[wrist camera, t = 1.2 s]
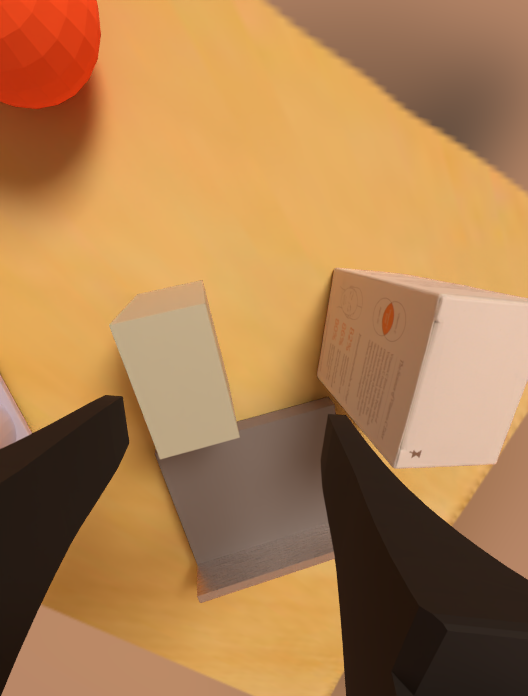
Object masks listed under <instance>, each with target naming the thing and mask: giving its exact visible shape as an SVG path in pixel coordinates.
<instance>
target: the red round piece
mask: <svg viewBox="0 0 528 696" xmlns="http://www.w3.org/2000/svg"><path fill="white" fill-rule="evenodd" d="M100 37H101V31H100V22H99V12H98V5H97V1H96V0H0V102H3V103H6V104H9V105H11V106H14V107H24V108H34V109H39V108H44V107H49V106H55V105H59V104H60V103H62V102H64V101H66V100H67V99H69V98H71V97H73V96H74V95H76V94H77V93H78V91H79V90H80V89H81V88H82V87H83V86H84V84H85V83H86V82H87V81H88V80H89V78H90V76H91V73H92V71H93V69H94V66H95V64H96V62H97V59H98V53H99V45H100Z"/></svg>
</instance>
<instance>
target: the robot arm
mask: <svg viewBox="0 0 528 696" xmlns="http://www.w3.org/2000/svg"><path fill="white" fill-rule="evenodd" d="M128 445H129V437H128V430H127V424H126V417H125V410H124V403H123V397H121V396H109V395H105V396H103V397H101V398H99V399H97V400H95V401H93V402H91V403H89V404H87V405H85V406H83V407H81V408H80V409H78V410H76V411H74V412H72V413H70V414H69V415H67V416H65V417H63V418H61V419H59V420H57V421H56V422H54V423H52V424H50V425H48V426H46V427H44V428H42V429H40V430H38V431H36V432H34V433H32V432H31V430H30V429H29V427H28V425H27V423H26V421H25V419H24V417H23V416H22V414H21V412H20V410H19V408H18V406H17V404H16V403H15V401H14V399H13V397H12V395H11V393H10V392H9V390H8V388H7V386H6V384H5V382H4V380H3V379H2V377H1V375H0V696H1V694H2V692H3V689H4V687H5V685H6V682H7V679H8V677H9V675H10V673H11V670H12V668H13V665H14V663H15V661H16V658H17V656H18V653H19V651H20V649H21V647H22V645H23V642H24V640H25V638H26V636H27V633H28V631H29V629H30V627H31V624H32V622H33V620H34V618H35V616H36V613H37V611H38V609H39V607H40V605H41V603H42V601H43V599H44V597H45V595H46V592H47V590H48V588H49V586H50V584H51V582H52V580H53V578H54V576H55V574H56V572H57V570H58V568H59V566H60V564H61V562H62V560H63V558H64V556H65V554H66V552H67V550H68V548H69V546H70V544H71V543H72V541H73V539H74V537H75V536H76V534H77V532H78V531H79V529H80V527H81V526H82V524H83V523H84V521H85V519H86V518H87V516H88V515H89V513H90V512H91V510H92V508H93V507H94V505H95V504H96V502H97V501H98V499H99V497H100V496H101V494H102V493H103V491H104V490H105V488H106V486H107V485H108V483H109V482H110V480H111V478H112V477H113V475H114V473H115V472H116V470H117V468H118V466H119V464H120V462H121V460H122V458H123V456H124V454H125V451H126V449H127V447H128ZM320 461H321V478H322V489H323V495H324V501H325V506H326V512H327V517H328V523H329V528H330V534H331V539H332V545H333V550H334V556H335V563H336V571H337V582H338V593H339V604H340V616H341V629H342V641H343V656H344V671H345V684H346V696H528V580H527V579H526V578H524V577H523V576H521V575H519V574H518V573H516V572H515V571H513V570H511V569H510V568H508V567H507V566H505V565H504V564H502V563H501V562H499V561H498V560H497V559H495V558H494V557H492V556H491V555H489V554H488V553H486V552H485V551H484V550H482V549H481V548H479V547H478V546H477V545H475V544H474V543H473V542H471V541H470V540H468V539H467V538H466V537H464V536H463V535H462V534H460V533H459V532H458V531H457V530H455V529H454V528H453V527H452V526H450V525H449V524H448V523H447V522H445V521H444V520H443V519H442V518H440V517H439V516H438V515H437V514H436V513H434V512H433V511H432V510H431V509H430V508H429V507H427V506H426V505H425V504H424V503H423V502H422V501H421V500H420V499H419V498H418V497H417V496H415V495H414V494H413V493H412V492H411V491H410V490H409V489H408V488H407V487H406V486H405V485H404V484H403V483H402V482H401V481H400V480H399V479H398V478H397V477H396V476H395V475H394V474H393V473H392V472H391V471H390V469H389V468H388V467H387V466H386V465H385V464H384V463H383V462H382V460H381V459H380V458H379V457H378V456H377V454H376V453H375V452H374V451H373V450H372V448H371V447H370V446H369V445H368V443H367V442H366V441H365V440H364V438H363V437H362V436H361V434H360V433H359V432H358V431H357V429H356V428H355V427H354V425H353V424H352V422H351V421H350V420H349V419H348V417H347V416H346V415H336V414H328V417H327V423H326V429H325V435H324V441H323V447H322V453H321V459H320Z"/></svg>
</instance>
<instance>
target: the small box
mask: <svg viewBox="0 0 528 696" xmlns="http://www.w3.org/2000/svg"><path fill="white" fill-rule="evenodd" d="M317 377H318V379H319V380H320V381H321V382H322V383H323V385H324V386H325V387H326V388H327V389H328V391H329V392H330V393H331V394H332V395H333V397H334V398H335V399H336V400H337V401H338V403H339V404H340V405H341V406H342V407H343V408H344V410H345V411H346V412H347V413H348V415H349V416H350V417H351V418H352V419H353V420H354V422H355V423H356V424H357V425H358V426H359V428H360V429H361V430H362V431H363V432H364V434H365V435H366V436H367V437H368V438H369V440H370V441H371V442H372V443H373V444H374V446H375V447H376V448H377V449H378V450H379V452H380V453H381V454H382V455H383V456H384V458H385V459H386V460H387V461H388V462H389V464H390V465H391V466H392V467H393V468H424V467H447V466H470V465H487V464H496V463H497V460H498V457H499V454H500V451H501V449H502V446H503V444H504V441H505V438H506V436H507V433H508V430H509V428H510V425H511V423H512V420H513V417H514V415H515V412H516V409H517V406H518V404H519V401H520V399H521V396H522V394H523V391H524V388H525V386H526V383H527V381H528V298H523V297H518V296H513V295H508V294H503V293H498V292H493V291H488V290H483V289H478V288H473V287H469V286H465V285H459V284H454V283H448V282H442V281H437V280H433V279H428V278H422V277H417V276H412V275H406V274H398V273H389V272H379V271H368V270H357V269H345V268H335V269H334V273H333V280H332V287H331V292H330V299H329V304H328V311H327V317H326V323H325V329H324V335H323V341H322V348H321V354H320V360H319V366H318V372H317Z"/></svg>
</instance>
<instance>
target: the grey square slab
mask: <svg viewBox="0 0 528 696" xmlns="http://www.w3.org/2000/svg"><path fill="white" fill-rule="evenodd" d="M328 414H335V406H334V404H333V402H332V401H331V400H330V398H329V397H326V398H322V399H318V400H315V401H311V402H307V403H304V404H300V405H296V406H293V407H289V408H285V409H282V410H278V411H274V412H271V413H267V414H263V415H260V416H256V417H252V418H249V419H245V420H241V421H238V422H237V426H238V431H239V436H240V438H236V439H233V440H229V441H225V442H222V443H218V444H215V445H211V446H207V447H204V448H200V449H196V450H193V451H189V452H186V453H182V454H178V455H175V456H171V457H167V458H164V459H160V458H159V455H158V453H157V450H155V456H156V458H157V461H158V464H159V466H160V469H161V471H162V474H163V477H164V479H165V482H166V484H167V487H168V490H169V492H170V495H171V497H172V500H173V503H174V505H175V508H176V510H177V513H178V516H179V518H180V521H181V523H182V526H183V529H184V531H185V534H186V536H187V539H188V542H189V544H190V547H191V549H192V552H193V555H194V557H195V560H196V562H197V597H198V599H199V602H200V603H202V602H205V601H208V600H211V599H214V598H217V597H220V596H223V595H226V594H229V593H232V592H235V591H239V590H242V589H245V588H248V587H251V586H254V585H257V584H260V583H263V582H266V581H269V580H272V579H275V578H278V577H281V576H284V575H287V574H290V573H293V572H296V571H299V570H302V569H305V568H308V567H311V566H314V565H317V564H320V563H323V562H326V561H329V560H332V559H335V556H334V550H333V545H332V539H331V534H330V528H329V523H328V517H327V512H326V506H325V501H324V495H323V489H322V478H321V461H320V459H321V453H322V447H323V441H324V435H325V429H326V423H327V417H328Z"/></svg>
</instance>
